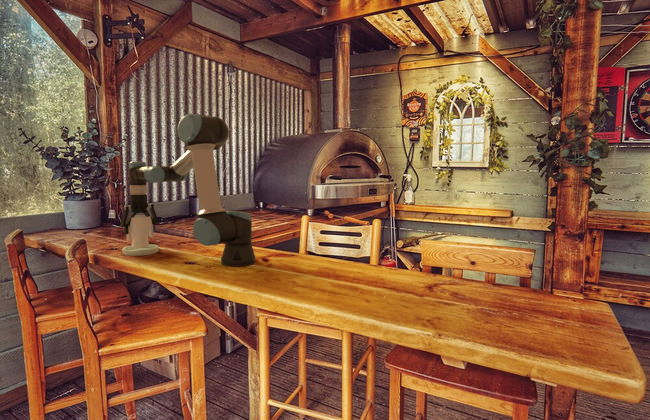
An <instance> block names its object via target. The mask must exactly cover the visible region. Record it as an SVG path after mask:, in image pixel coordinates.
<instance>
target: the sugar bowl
mask: <svg viewBox="0 0 650 420" xmlns="http://www.w3.org/2000/svg"><path fill="white" fill-rule="evenodd" d="M154 239H155V238H154V237H153V238H151V237H149V234H148V242H149V244H151V243H150V242H153V241H154ZM132 241H133V239H132V234H131V241H127V237H126V238H125V242H126V243H127V244H128V245H129V246H131V245H132Z"/></svg>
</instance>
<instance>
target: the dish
mask: <svg viewBox="0 0 650 420" xmlns="http://www.w3.org/2000/svg"><path fill="white" fill-rule="evenodd" d="M121 249H122V250H121V251H122V252H121V253H122V255H125V256H130V257H133V256H134V257H135V256H136V257H137V256H138V257H140V256H147V255H149V256H150V255H153V254H156V253H158V252H159V251H160V247H159V245H158V244H155V243H154V244H152V243H149V247H145V248H132V245H127V246H124V247H122V248H121Z"/></svg>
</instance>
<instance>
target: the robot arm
mask: <svg viewBox="0 0 650 420" xmlns="http://www.w3.org/2000/svg"><path fill="white" fill-rule="evenodd" d="M179 120H180V121H179V122H178V124H177V136H178V139H179V140H180V141H181V142H182V143H185V147H186V148H185V149H186V152H185V153H183V155H182V154H181V156H180V157H179V158H178V159H176V161H174V163H171V165H166V166H165V165H161V166H160V165H151V166H150V165H147V163H146V162H145V161H130V162H129V163H128V179H129V201H130V204H129V205H123V211H122V212H123V213H122V215H121V220H120V223H119V226H120V227H122V228H124V234H125V237H126V238H127V241H131V228H130V227H129V225H130V223H131V218H134V216H135V215H138V214H143V215H145V216H146V217H149V216H150V217H151V221H152V226H151V230H150V232H149V237H151V238H154V237H155V236H154V231H155V230H156V229H155V228H156V227H155V226H156V225H157V223H159V219H158V216H157V212H156V211H155V204H154V203H148V194H147V193H148V183H151V184H156V183H157V184H158V183H167V182H170V183H171V182H174V183H175V182H178V183H179V182H184V181H185V180H187V177H188V173H189V172H190V171H191V170H193V173H194V178H195V185H196V186H195V187H196V192H197V198H198V205H199V211H198V213H197V214H196V217H197V218H196V219H195V220H194V222H193V225H192V230H193V231H192V233H193V236H194V237H195V239H196V240H197V241H198V242H199V244H201V245H203V246H206V247H209V246H210V247H211V246H217V245H219V244H220V245H221V244H224V248H223V251H222V256H221V258H220V263H221V265H223V266H227V267H244V266H245V265H247V266H250V264H251V265H253V263H254V264H255V263H256V261H257V260H256V259H257V258H256V255H255V252H254V249H253V246H252V244H253V243H252V241H253V239H252V238H253V237H252V234H253V232H252V231H253V230H252V228H253V227H252V223H253V221H252V214H251V213H250V212H247V211H246V212H245V211H237V210H235V211H234V210H226V209H225V208H224V207H222V202H221V201H222V200H221V195H220V190H219V183H218V176H217V170H216V165H215V164H216V163H215V157H214V151H218V150H220V149H221V148H222V147H223V146H224V145H225V144H226V142H227V141H228V139H229V136H230V129H229V126H228V124H227V122H226V121H224V120H223V119H222V118H221V117H218V116H210V115H203V114H199V113H187V114H184V115H183V116H182V117H181V118H180V119H179ZM147 208H148V209H149V211H148V209H147ZM149 212H150V213H149ZM127 241H126V242H127ZM245 267H246V266H245Z"/></svg>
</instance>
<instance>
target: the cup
mask: <svg viewBox="0 0 650 420" xmlns="http://www.w3.org/2000/svg"><path fill="white" fill-rule="evenodd" d="M150 216H151V215H150ZM150 216H149V217H146V216H145V215H144V214H140V215H139V214H136V215H135V216H134V218H131V223H130V225H129V227H130V228H131V234H132V239H133V241H132V248H145V247H149V244H150V243H149V242H148V234H149V232H150V230H151V226H152V221H151V217H152V216H151V217H150Z"/></svg>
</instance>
